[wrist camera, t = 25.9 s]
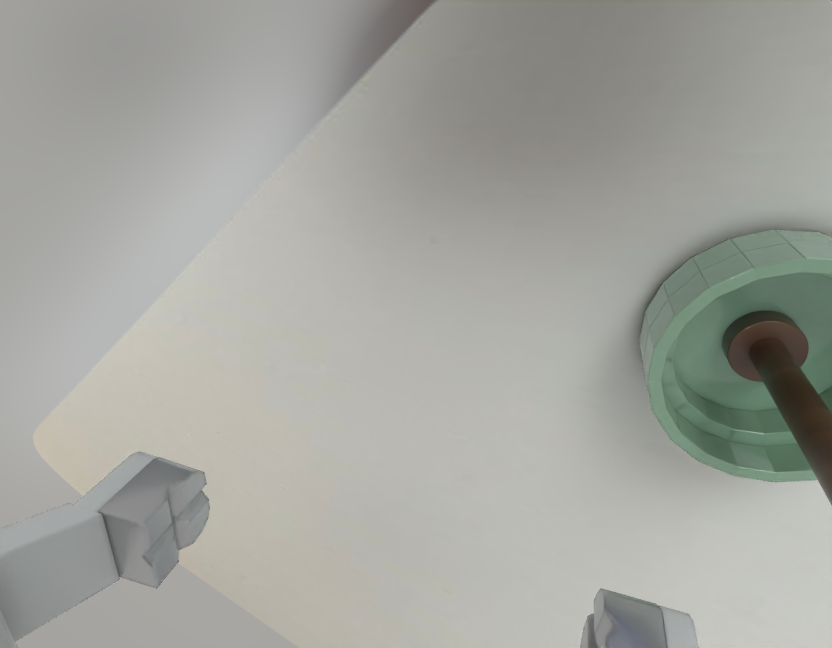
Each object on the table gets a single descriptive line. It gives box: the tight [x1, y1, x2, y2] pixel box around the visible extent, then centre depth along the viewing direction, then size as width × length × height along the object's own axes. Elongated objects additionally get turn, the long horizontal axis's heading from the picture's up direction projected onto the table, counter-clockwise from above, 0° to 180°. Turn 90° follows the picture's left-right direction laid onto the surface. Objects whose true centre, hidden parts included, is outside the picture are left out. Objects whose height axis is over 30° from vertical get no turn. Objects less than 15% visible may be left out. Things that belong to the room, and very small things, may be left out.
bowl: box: [639, 230, 832, 482], centre depth 33 cm, size 15×15×6 cm
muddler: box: [722, 311, 832, 505], centre depth 27 cm, size 4×4×17 cm
